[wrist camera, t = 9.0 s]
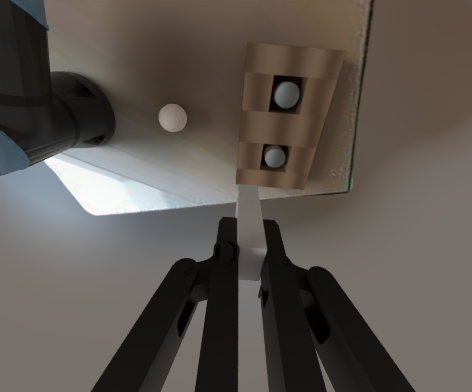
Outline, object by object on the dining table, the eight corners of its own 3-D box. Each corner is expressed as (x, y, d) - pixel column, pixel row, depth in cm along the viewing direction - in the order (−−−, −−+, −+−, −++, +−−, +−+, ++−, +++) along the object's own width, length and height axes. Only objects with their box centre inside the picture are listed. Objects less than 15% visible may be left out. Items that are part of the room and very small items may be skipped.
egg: (188, 130, 44) (178, 140, 38) (164, 123, 43) (151, 131, 37) (192, 106, 41) (182, 112, 35) (167, 98, 41) (153, 102, 34)
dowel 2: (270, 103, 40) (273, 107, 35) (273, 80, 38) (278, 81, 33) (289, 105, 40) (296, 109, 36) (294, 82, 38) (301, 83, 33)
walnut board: (236, 173, 49) (235, 184, 44) (246, 47, 36) (247, 42, 30) (297, 178, 50) (303, 189, 45) (331, 54, 36) (346, 51, 31)
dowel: (262, 157, 47) (264, 166, 42) (264, 140, 44) (267, 148, 40) (278, 158, 47) (283, 168, 42) (282, 141, 44) (287, 149, 40)
